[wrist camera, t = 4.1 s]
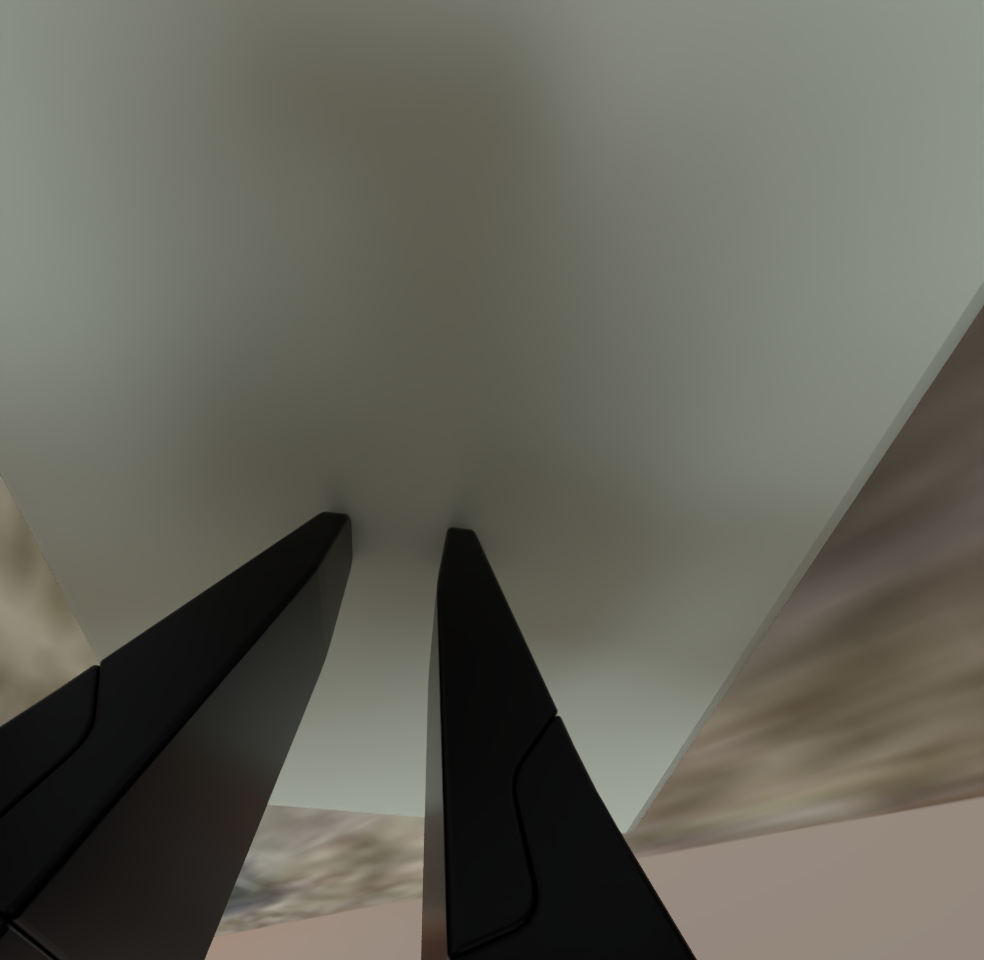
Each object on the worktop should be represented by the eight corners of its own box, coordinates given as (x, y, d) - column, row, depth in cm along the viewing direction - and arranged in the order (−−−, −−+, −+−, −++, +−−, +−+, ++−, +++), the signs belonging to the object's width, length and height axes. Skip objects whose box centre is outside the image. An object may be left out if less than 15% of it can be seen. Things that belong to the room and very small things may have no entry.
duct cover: (1518, -629, 3) (1787, -829, 2) (633, 801, 14) (639, 834, 13) (-691, -1184, 2) (-1114, -1652, 2) (186, 764, 14) (170, 796, 13)
